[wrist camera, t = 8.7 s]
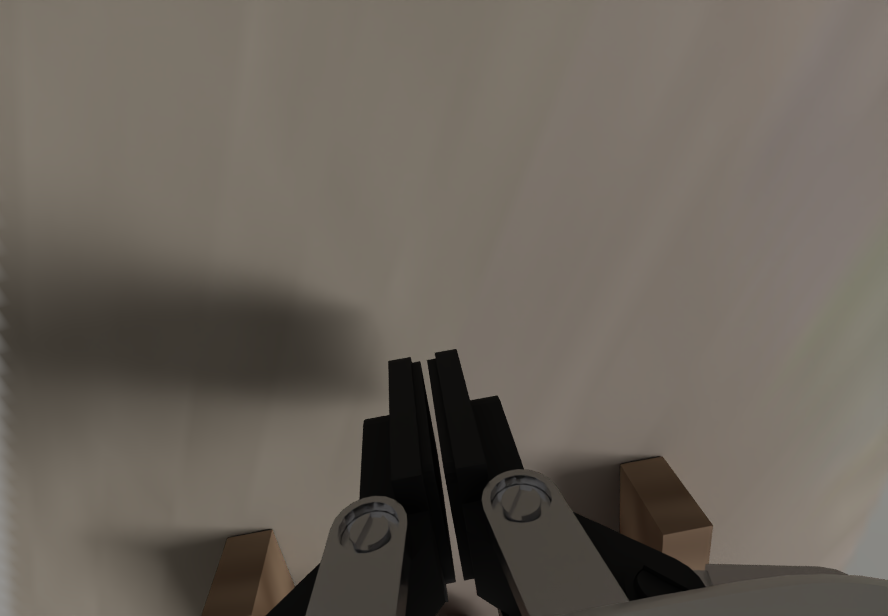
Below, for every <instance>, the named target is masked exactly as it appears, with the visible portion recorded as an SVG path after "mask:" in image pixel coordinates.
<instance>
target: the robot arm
mask: <svg viewBox="0 0 888 616" xmlns="http://www.w3.org/2000/svg"><path fill="white" fill-rule="evenodd" d="M435 357H436V359H431V360H427V363H428V369H429V376H430V383H431V389H432V396H433V402H434V409H435V416H436V422H437V429H438V435H439V442H440V448H441V455H442V462H443V468H444V474H445V479H446V485H447V490H448V496H449V501H450V507H451V512H452V518H453V523H454V528H455V534H456V539H457V545H458V550H459V555H460V561H461V566H462V572H463V577H464V580H469V579H475V584H476V590H477V595H478V596H479V597H481V598H482V599H484V600H486V601H487V602H489V603H490V604H492V605H493V606H495V607H496V608H498V613H499V616H888V580H885V579H878V578H872V577H865V576H856V575H848V574H845V573H843V572H841V571H838V570H836V569H830V568H824V567H816V566H775V565H734V564H705V570H692V569H691V568H690V567H689V566H687V565H685V564H684V563H682V562H680V561H679V560H677V559H675V558H673V557H671V556H669V555H667V554H664V553H662V552H660V551H658V550H656V549H653V548H651V547H649V546H647V545H645V544H642V543H640V542H638V541H636V540H634V539H631V538H629V537H627V536H625V535H623V534H621V533H618V532H616V531H614V530H612V529H610V528H607V527H605V526H603V525H601V524H599V523H596V522H594V521H592V520H590V519H588V518H585V517H583V516H581V515H579V514H577V513H574V512H572V510H571V508H570V507H569V505H568V504H567V502H566V501H565V499H564V497H563V496H562V494H561V493H560V491H559V490H558V488H557V486H556V485H555V484H554V483H553V482H552V481H551V480H550V479H549V478H548V477H546V476H544V475H543V474H541V473H538V472H535V471H532V470H524V468H523V465H522V462H521V459H520V456H519V454H518V451H517V448H516V445H515V442H514V439H513V436H512V434H511V431H510V428H509V425H508V422H507V419H506V416H505V414H504V411H503V408H502V405H501V402H500V399H499V397H498V396H492V397H486V398H481V399H475V400H470V399H469V395H468V391H467V387H466V383H465V380H464V376H463V372H462V368H461V364H460V360H459V357H458V353H457V349H453V350H448V351H442V352H436V353H435ZM388 369H389V415H387V416H381V417H376V418H370V419H365V420H364V424H363V441H362V461H361V480H360V499H359V500H358V501H355V502H353V503H351V504H350V505H349V506H347V507H346V508H345V509H343V510H342V511H341V512H340V514H339V515H338V516H337V517H336V518H335V520H334V522H333V524H332V526H331V528H330V532H329V535H328V539H327V542H326V546H325V549H324V553H323V556H322V560H321V562H320V563H319V564H318V565H317V566H316V567H315V568H314V569H313V570H312V571H311V572H310V573H309V574H308V575H307V576H306V577H305V578H304V579H303V580H302V581H301V582H300V583H299V584H298V585H297V586H296V587H295V588H294V589H292V590H291V591H290V592H289V593H288V594H287V595H286V596H285V597H284V598H283V599H282V600H281V601H280V602H279V603H278V604H277V605H276V606H275V607H274V608H273V609H272V610H271V611H270V612H269V613H268V614H267V615H265V616H435V615H436V614H437V612H438V611H439V610H440V608H441V607H442V606H443V605H444V603H445V602H448V596H447V588H446V584H449V583H454V582H456V580H455V572H454V565H453V558H452V551H451V544H450V537H449V530H448V523H447V516H446V509H445V502H444V495H443V488H442V481H441V474H440V467H439V460H438V454H437V448H436V442H435V437H434V432H433V427H432V421H431V416H430V411H429V405H428V400H427V395H426V389H425V384H424V379H423V373H422V368H421V363H420V361H419V362H414V363H412V361H411V357H408V358H403V359H397V360H391V361H388Z"/></svg>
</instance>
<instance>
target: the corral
mask: <svg viewBox="0 0 888 616" xmlns="http://www.w3.org/2000/svg"><path fill="white" fill-rule="evenodd" d="M712 530H713V525H712V523H711V522H710V521H709V519H708V518H707V517H706V515H705V514H704V512H703V511H702V510H701V508H700V507H699V506H698V504H697V503H696V502H695V500H694V499H693V497H692V496H691V495H690V493H689V492H688V491H687V489H686V488H685V487H684V485H683V484H682V482H681V481H680V480H679V478H678V477H677V476H676V474H675V473H674V471H673V470H672V469H671V467H670V466H669V465H668V463H667V462H666V461H665V459H664V458H663V456H662V457H657V458H651V459H646V460H641V461H635V462H630V463H625V464H620V533H621V534H623V535H625V536H627V537H629V538H631V539H634V540H636V541H638V542H640V543H642V544H645V545H647V546H649V547H651V548H653V549H656V550H658V551H660V552H662V553H664V554H667V555H669V556H671V557H673V558H675V559H677V560H679V561H680V562H682V563H684V564H685V565H687V566H689V567H690V568H691V569H692V570H705V564H709V555H710V547H711V538H712ZM294 588H295V586H294V584H293V581H292V578H291V576H290V573H289V571H288V568H287V566H286V563H285V561H284V558H283V556H282V553H281V550H280V548H279V545H278V543H277V540H276V538H275V535H274V533H273V530H267V531H262V532H257V533H251V534H246V535H241V536H235V537H230V538H227V541H226V544H225V547H224V550H223V553H222V556H221V559H220V562H219V565H218V568H217V571H216V574H215V577H214V580H213V583H212V586H211V589H210V592H209V595H208V598H207V601H206V603H205V606H204V609H203V612H202V615H201V616H265V615H267V614H268V613H269V612H270V611H271V610H272V609H273V608H274V607H275V606H276V605H277V604H278V603H279V602H280V601H281V600H282V599H283V598H284V597H285V596H286V595H287V594H288V593H289V592H290V591H291V590H292V589H294Z"/></svg>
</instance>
